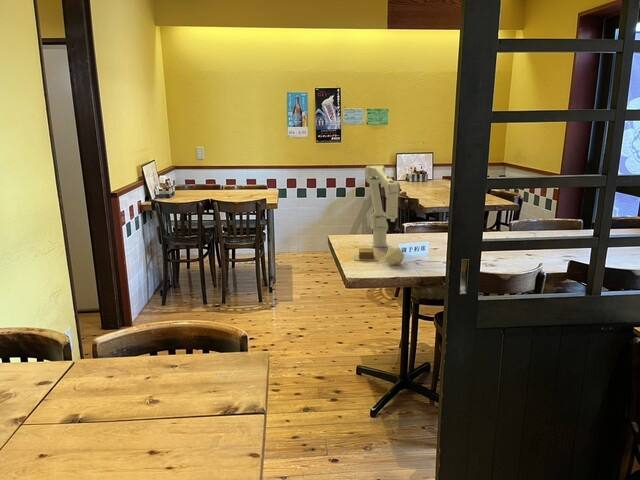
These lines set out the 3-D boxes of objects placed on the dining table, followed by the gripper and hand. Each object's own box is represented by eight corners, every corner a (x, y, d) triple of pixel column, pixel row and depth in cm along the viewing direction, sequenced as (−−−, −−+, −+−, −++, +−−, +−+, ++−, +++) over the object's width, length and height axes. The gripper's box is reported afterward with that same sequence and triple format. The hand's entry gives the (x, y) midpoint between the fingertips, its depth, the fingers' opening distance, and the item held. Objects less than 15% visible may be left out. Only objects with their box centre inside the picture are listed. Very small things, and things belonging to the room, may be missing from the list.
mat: (354, 255, 236) (354, 255, 236) (377, 255, 235) (377, 255, 235) (354, 260, 227) (354, 259, 227) (378, 260, 226) (378, 260, 226)
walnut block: (359, 247, 236) (359, 252, 228) (372, 248, 235) (373, 252, 228) (359, 254, 237) (359, 258, 229) (372, 254, 236) (373, 259, 228)
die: (401, 269, 215) (409, 250, 217) (385, 260, 214) (393, 242, 216) (395, 270, 223) (403, 252, 225) (379, 261, 222) (388, 244, 224)
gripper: (383, 204, 243) (382, 229, 246) (384, 209, 229) (384, 236, 232) (396, 204, 242) (396, 229, 245) (399, 209, 228) (398, 236, 231)
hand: (391, 232), depth 239 cm, fingers closed
